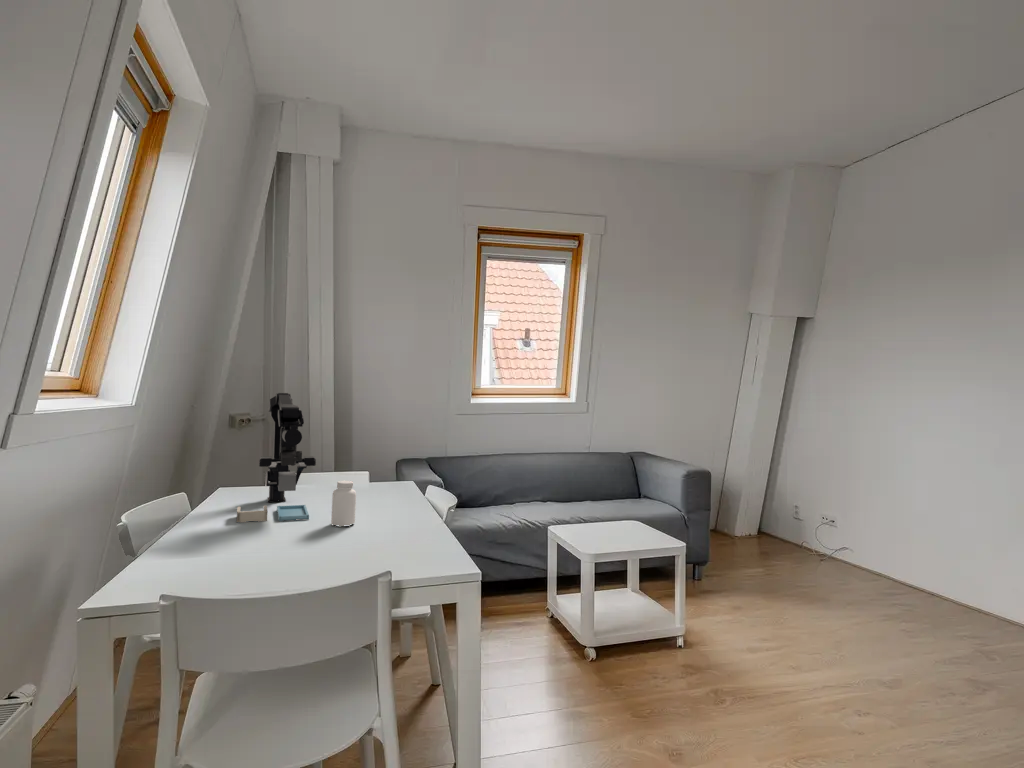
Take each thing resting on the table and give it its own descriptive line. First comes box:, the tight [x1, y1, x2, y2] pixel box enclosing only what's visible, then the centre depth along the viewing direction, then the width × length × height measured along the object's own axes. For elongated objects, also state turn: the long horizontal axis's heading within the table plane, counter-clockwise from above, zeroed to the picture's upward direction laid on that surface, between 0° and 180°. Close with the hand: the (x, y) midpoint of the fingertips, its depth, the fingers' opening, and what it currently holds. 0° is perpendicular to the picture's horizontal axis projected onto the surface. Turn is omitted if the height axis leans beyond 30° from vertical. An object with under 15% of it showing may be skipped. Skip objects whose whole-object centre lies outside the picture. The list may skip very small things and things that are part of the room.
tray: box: [276, 504, 310, 522], centre depth 216 cm, size 15×10×2 cm, turn 24°
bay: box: [236, 504, 269, 523], centre depth 208 cm, size 8×10×4 cm
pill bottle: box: [330, 480, 357, 526], centre depth 207 cm, size 8×8×15 cm
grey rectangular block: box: [278, 471, 297, 492], centre depth 215 cm, size 12×6×6 cm, turn 24°
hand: (286, 485), depth 213 cm, fingers closed on grey rectangular block, 6 cm apart
